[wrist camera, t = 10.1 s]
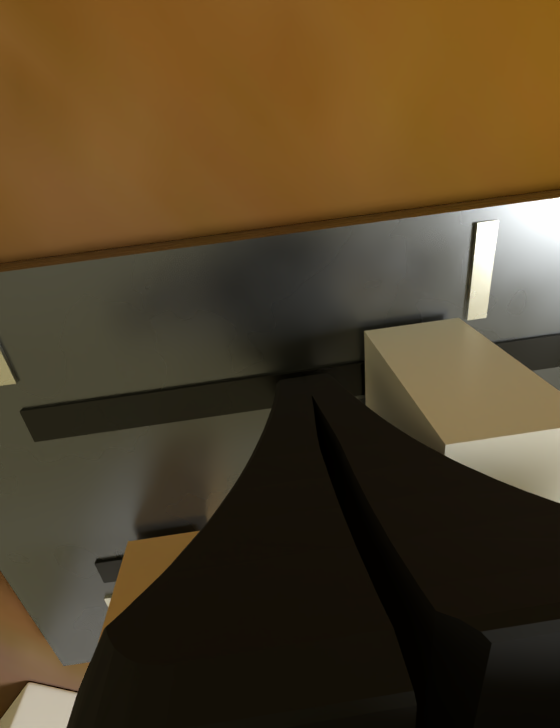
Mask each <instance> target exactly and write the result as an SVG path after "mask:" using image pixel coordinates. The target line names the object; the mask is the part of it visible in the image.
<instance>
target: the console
mask: <svg viewBox="0 0 560 728" xmlns="http://www.w3.org/2000/svg"><path fill="white" fill-rule="evenodd" d="M453 318H460V319H461V320H463V321H464V322H465V323H467V324H468V325H470V326H471V327H472V328H474V329H475V330H476V331H478V332H479V333H481V334H482V335H483V336H485V337H486V338H487V339H489V340H490V341H492V342H493V343H494V344H496V345H497V346H498V347H500V348H501V349H502V350H504V351H505V352H507V353H508V354H509V355H511V356H512V357H513V358H515V359H516V360H518V361H519V362H520V363H522V364H523V365H524V366H526V367H527V368H528V369H530V370H531V371H533V372H534V373H535V374H537V375H538V376H539V377H541V378H542V379H544V380H545V381H546V382H548V383H549V384H550V385H552V386H553V387H555V388H556V389H557V390H559V391H560V189H558V190H551V191H543V192H536V193H528V194H520V195H513V196H505V197H498V198H490V199H483V200H475V201H468V202H460V203H453V204H445V205H438V206H430V207H422V208H415V209H407V210H400V211H392V212H385V213H377V214H370V215H362V216H355V217H347V218H340V219H332V220H324V221H317V222H309V223H302V224H294V225H287V226H279V227H272V228H264V229H257V230H249V231H242V232H234V233H226V234H219V235H211V236H204V237H196V238H189V239H181V240H174V241H166V242H159V243H151V244H144V245H136V246H128V247H121V248H113V249H106V250H98V251H91V252H83V253H76V254H68V255H61V256H53V257H46V258H38V259H31V260H23V261H15V262H8V263H0V571H1V572H2V574H3V575H4V577H5V578H6V580H7V581H8V583H9V584H10V586H11V587H12V589H13V590H14V592H15V593H16V595H17V596H18V598H19V599H20V601H21V602H22V604H23V605H24V607H25V608H26V610H27V611H28V613H29V614H30V616H31V617H32V619H33V620H34V622H35V623H36V625H37V627H38V628H39V630H40V631H41V633H42V634H43V636H44V637H45V639H46V640H47V642H48V643H49V645H50V646H51V648H52V649H53V651H54V652H55V654H56V655H57V657H58V658H59V660H60V661H61V663H62V664H63V666H66V665H73V664H79V663H86V662H90V661H91V659H92V657H93V654H94V652H95V649H96V647H97V644H98V641H99V638H100V634H101V631H102V628H103V624H104V621H105V617H106V614H107V611H108V607H109V604H110V600H111V597H112V594H113V590H114V587H115V584H116V580H117V577H118V573H119V570H120V567H121V563H122V560H123V556H124V553H125V550H126V546H127V543H128V541H135V540H141V539H148V538H154V537H161V536H168V535H174V534H181V533H188V532H194V531H200V530H201V529H202V528H203V527H204V525H205V524H206V523H207V522H208V520H209V519H210V518H211V517H212V515H213V514H214V513H215V511H216V510H217V509H218V507H219V506H220V504H221V503H222V501H223V500H224V499H225V497H226V496H227V494H228V493H229V492H230V490H231V489H232V487H233V486H234V484H235V483H236V481H237V479H238V478H239V476H240V475H241V473H242V471H243V469H244V468H245V466H246V464H247V462H248V461H249V459H250V457H251V455H252V453H253V451H254V449H255V447H256V445H257V443H258V441H259V438H260V436H261V434H262V432H263V430H264V427H265V425H266V422H267V419H268V417H269V414H270V411H271V408H272V405H273V401H274V397H275V392H276V384H277V383H278V382H279V381H280V380H282V379H289V378H296V377H303V376H310V375H317V374H324V373H328V374H329V375H331V376H332V377H333V378H334V379H335V380H336V381H338V382H339V383H340V384H341V385H342V386H343V387H344V388H345V389H347V390H348V391H349V392H350V393H351V394H352V395H354V396H355V397H356V398H357V399H358V400H360V401H361V402H362V403H363V404H365V405H366V398H365V347H364V331H367V330H374V329H382V328H389V327H396V326H403V325H410V324H417V323H425V322H432V321H439V320H446V319H453Z"/></svg>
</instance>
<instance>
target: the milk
mask: <svg viewBox="0 0 560 728" xmlns="http://www.w3.org/2000/svg"><path fill="white" fill-rule="evenodd" d="M76 696H77V692H73V691H68V690H64V689H59V688H55V687H51V686H46V685H42V684H37V683H32V682H28V683H27V684H26V686H25V687H24V688H23V690H22V691H21V692H20V694H19V695H18V696H17V698H16V699H15V700H14V702H13V703H12V705H11V706H10V707H9V709H8V710H7V711H6V713H5V714H4V715H3V717H2V718H1V719H0V728H67V724H68V721H69V718H70V715H71V711H72V708H73V705H74V702H75V699H76Z"/></svg>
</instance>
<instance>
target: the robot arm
mask: <svg viewBox="0 0 560 728" xmlns="http://www.w3.org/2000/svg"><path fill="white" fill-rule="evenodd" d="M67 728H560V503H558V502H555V501H552V500H549V499H546V498H544V497H541V496H538V495H535V494H533V493H530V492H527V491H524V490H522V489H519V488H517V487H514V486H512V485H509V484H507V483H504V482H502V481H499V480H497V479H494V478H492V477H490V476H488V475H485V474H483V473H481V472H479V471H476V470H474V469H472V468H470V467H467V466H465V465H463V464H461V463H459V462H457V461H455V460H453V459H451V458H449V457H447V456H445V455H443V454H441V453H439V452H437V451H436V450H434V449H432V448H430V447H428V446H426V445H425V444H423V443H421V442H419V441H417V440H416V439H414V438H412V437H411V436H409V435H407V434H406V433H404V432H403V431H401V430H400V429H398V428H397V427H395V426H394V425H392V424H391V423H389V422H387V421H386V420H385V419H383V418H382V417H380V416H379V415H378V414H376V413H375V412H374V411H373V410H371V409H370V408H369V407H367V406H366V405H365V404H363V403H362V402H361V401H360V400H358V399H357V398H356V397H355V396H354V395H352V394H351V393H350V392H349V391H348V390H347V389H345V388H344V387H343V386H342V385H341V384H340V383H339V382H338V381H336V380H335V379H334V378H333V377H332V376H331V375H329V374H328V373H324V374H317V375H310V376H303V377H296V378H289V379H282V380H280V381H279V382H278V383H277V384H276V392H275V397H274V401H273V405H272V408H271V411H270V414H269V417H268V419H267V422H266V425H265V427H264V430H263V432H262V434H261V436H260V438H259V441H258V443H257V445H256V447H255V449H254V451H253V453H252V455H251V457H250V459H249V461H248V462H247V464H246V466H245V468H244V469H243V471H242V473H241V475H240V476H239V478H238V479H237V481H236V483H235V484H234V486H233V487H232V489H231V490H230V492H229V493H228V494H227V496H226V497H225V499H224V500H223V501H222V503H221V504H220V506H219V507H218V509H217V510H216V511H215V513H214V514H213V515H212V517H211V518H210V519H209V520H208V522H207V523H206V524H205V525H204V527H203V528H202V529H201V530H200V531H199V533H198V534H197V535H196V536H195V537H194V538H193V539H192V541H191V542H190V543H189V544H188V545H187V546H186V547H185V549H184V550H183V551H182V552H181V553H180V554H179V555H178V557H177V558H176V559H175V560H174V561H173V562H172V564H171V565H170V566H169V567H168V568H167V569H166V570H165V571H164V572H163V573H162V574H161V575H160V576H159V577H158V578H157V579H156V580H155V581H154V582H153V583H152V584H151V585H150V586H149V587H148V588H147V589H146V590H145V591H144V592H142V593H141V594H140V595H139V596H138V597H137V598H136V599H135V600H134V601H133V602H132V603H131V604H130V605H129V606H128V607H127V608H126V609H125V610H124V611H123V612H122V613H121V614H120V615H118V616H117V617H116V618H115V619H114V620H113V621H112V622H111V623H110V624H108V625H107V626H106V627H105V628H104V630H103V633H102V635H101V637H100V640H99V642H98V644H97V647H96V649H95V652H94V654H93V657H92V659H91V661H90V664H89V666H88V668H87V671H86V673H85V675H84V678H83V680H82V683H81V685H80V688H79V690H78V693H77V696H76V699H75V702H74V705H73V708H72V711H71V715H70V718H69V721H68V724H67Z"/></svg>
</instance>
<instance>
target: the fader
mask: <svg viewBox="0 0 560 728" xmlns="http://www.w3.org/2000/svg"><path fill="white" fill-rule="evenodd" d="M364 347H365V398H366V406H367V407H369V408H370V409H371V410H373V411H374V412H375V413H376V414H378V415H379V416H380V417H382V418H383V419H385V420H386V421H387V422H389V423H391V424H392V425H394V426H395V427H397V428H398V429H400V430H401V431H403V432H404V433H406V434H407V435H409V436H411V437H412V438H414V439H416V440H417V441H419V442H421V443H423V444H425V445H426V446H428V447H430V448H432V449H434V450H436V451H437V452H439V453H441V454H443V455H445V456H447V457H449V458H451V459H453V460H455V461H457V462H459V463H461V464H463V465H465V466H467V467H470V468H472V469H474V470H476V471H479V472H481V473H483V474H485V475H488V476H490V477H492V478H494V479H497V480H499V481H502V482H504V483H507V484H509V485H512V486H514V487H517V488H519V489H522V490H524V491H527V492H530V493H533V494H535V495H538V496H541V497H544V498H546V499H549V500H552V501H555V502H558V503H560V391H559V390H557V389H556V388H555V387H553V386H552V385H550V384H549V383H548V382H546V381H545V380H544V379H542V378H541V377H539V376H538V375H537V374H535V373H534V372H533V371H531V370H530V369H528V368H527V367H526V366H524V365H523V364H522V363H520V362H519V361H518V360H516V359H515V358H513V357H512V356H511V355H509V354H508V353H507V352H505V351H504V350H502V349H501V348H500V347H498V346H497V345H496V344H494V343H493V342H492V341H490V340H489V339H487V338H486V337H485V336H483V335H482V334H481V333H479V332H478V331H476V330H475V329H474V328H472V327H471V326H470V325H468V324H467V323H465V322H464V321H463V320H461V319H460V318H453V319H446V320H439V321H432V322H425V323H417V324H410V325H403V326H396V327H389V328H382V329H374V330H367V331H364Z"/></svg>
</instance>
